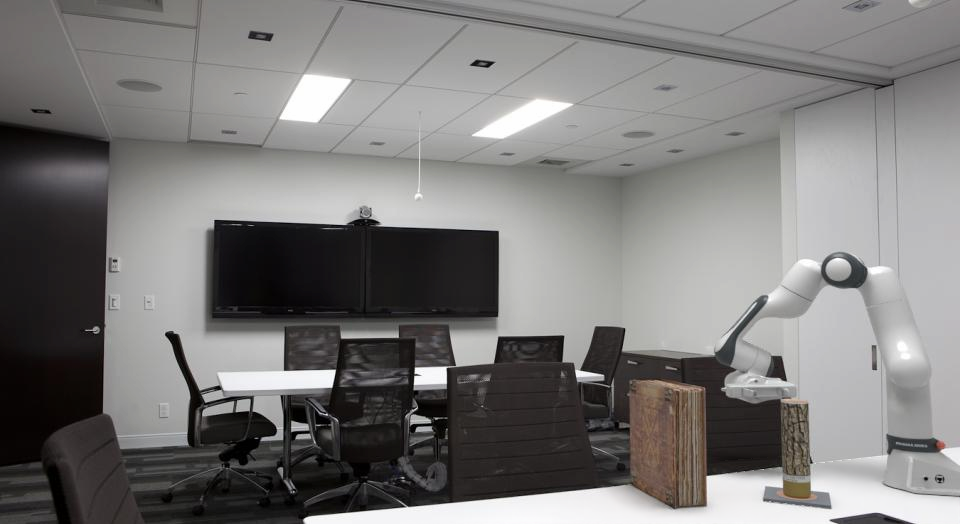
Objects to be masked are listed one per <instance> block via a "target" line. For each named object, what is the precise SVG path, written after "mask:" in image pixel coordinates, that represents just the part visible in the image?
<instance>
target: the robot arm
mask: <svg viewBox="0 0 960 524" xmlns="http://www.w3.org/2000/svg"><path fill="white" fill-rule="evenodd" d="M827 286H831V287H833V288H836V289H840V290H847V289H848V290H849V289H856V290H857V291H859V293H860V295H861V296H862V297H861V298H862V299H863V302H864V305H865V310H866V312H867V314H868V315H867V316H868V317H869V322H870V325H871V328H872V331H873V333H874V337H875V340H876V343H877V346H878V349H879V353H880V356H881V359H882V362H883V366H884V369H885V386H886V390H885V391H886V411H887V412H886V417H887V418H886V419H887V420H886V421H887V433H886V437H885V451H886V454H887V459H886V468H885V471H884V472H885V473H884V477H883V479H882V484H884V485H886V486H889V487H892V488H895V489H899V490H902V491H903V490H904V491H907V492H909V493H914V494H920V495H922V494H923V495H939V496H940V495H941V496H953V497H954V496H955V497H956V496H957V497H960V465H959V464H958V463H957V462H955V461H954V460H952V459H951V458H950V457H949V456H948V455H946V454H945V453H943V452H942V451H943V450H944V449H946V448H947V447H946V443H944V441H942V440H939V439H938V438H937V439H936V438H935V437H934V435H933V411H932V410H933V408H932V398H931V395H932V394H931V384H930V379H931V377H932V374H933V373H932V371H933V369H932V365H931V362H930V359H929V356H928V353H927V351H926V348H925V345H924V342H923V339H922V337H921V334H920V331H919V328H918V325H917V323H916V320H915V317H914V314H913V310H912V308H911V305H910V301H909V299H908V296H907V293H906V291H905V288H904V286H903V284H902V282H901V280H900V278H899V276H898V275H897V273H896V271H895V270H894V269H893V268H892V267H889V266H886V265H885V266H884V265H878V266H872V267H869V266H866V265H865V262H864V261H863V260H862V259H861V258H860V257H859V256H857V255H855V254H853V253H851V252H845V251H837V252H833V253H831V254H829V255H828V256H826V257H825V258H824V259H823V261H822V262H818V261H815V260H814V259H810V258H803V259H799V260H798V261H796V262H795V264H794V265H792V266H791V267H790V269H788V271H787V273H786V274H785V276H784V277H783V279H782V280H781V281H780V283H779V285H778V286H777V287H776V288H775V289H774V290H773V291H772V292H770V293H768V294H762V295H760V296H759V297H758V298H756V299H755V300H754V301H753V302H752V303H751V304H750V306H749V307H748V308H747V309H745V311H744V312H743V313H742V314H741V316H740V317H739V318H738V319H737V320H736V321H735V323H734V324H733V325H732V326H731V327H730V329H729V330H727V332H725V333H724V334H723V335H722V336H721V337H720V338H719V339H718V341H717V342H716V343H715V345H714V347H713V353H714V356H715V358H716V361H718V363H720V364H722V365H725V366H727V367H731V368H733V369H735V371H733V372H732V371H731V372H730V373H728V374H727V375H726V376H725V378H724V387H721V388H720V391H722V392H725V396H727V397H728V398H732V399H738V400H741V401H745V402H747V403H750V404H760V403H763V402H766V401H775V400H781V399H789V398H790V399H793V398H796V397H797V396H798V395H797V393H798V389H797V386H796V384H795V383H792V382H789V381H786V380H785V381H784V380H782V378H779V377H771V375H772V373H773V372H774V371H773V370H774V365H775V363H774V358H773V356H772V353H771V352H770V351H768V350H766V349H764V348H761V347H759V346H758V345H754V344H753V343H750V342H749V341H746V340H744V339H743V338H744V337H745V336H746V334H748V332H750V330H751V329H752V328H753V327H754V326H755V324H756V323H757V322H758V321H760V320H762V319H765V318H766V319H767V318H777V319H784V320H786V319H789V320H790V319H797V318H799V317H802V316H804V314H806V313H807V311H808V310H809V309H810V307H811V306H812V304H813V303H814V301H815V299H816V298H817V296H818V294H819V293H821V291H822V290H823V289H824V288H825V287H827Z"/></svg>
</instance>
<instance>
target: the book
mask: <svg viewBox="0 0 960 524" xmlns="http://www.w3.org/2000/svg"><path fill="white" fill-rule="evenodd" d="M628 382H629V383H628V384H629V386H628V390H629V393H628V394H629V396H628V397H629V402H628V403H629V466H630V467H629V468H630V469H629V470H630V471H629V473H630V475H629V477H630V485H631V486H633V487H635V488H636V489H638V490H640V491H641V492H643V493H645V494H647V495H648V496H649V497H652V498H654V499H656V500H658V501H659V502H661V503H662V504H664V505H666V506H667V507H670V508H671V509H672V510H676V509H677V507H687V506H702V505H703V506H702V507H704V506H705V507H704V508H706V507H707V506H708V500H707V499H708V496H707V495H708V494H707V493H708V489H707V486H708V484H707V482H708V480H707V428H706V427H707V422H706V421H707V420H706V418H707V417H706V414H707V413H706V411H707V410H706V404H707V403H706V388H705V387H703V386H698V385H693V384H688V383H682V382H678V381H673V380H667V379H663V378H659V377H657V378H630V379H629V380H628Z"/></svg>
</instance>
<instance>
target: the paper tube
mask: <svg viewBox="0 0 960 524" xmlns="http://www.w3.org/2000/svg"><path fill="white" fill-rule="evenodd" d="M809 405H810V404H809V401H808V400H807V399H800V398H799V399H798V398H782V399H780V421H781V422H780V425H781V426H780V430H781V431H780V433H781V434H780V435H781V461H782V462H781V464H782V465H781V466H782V488H783V493H784V494H785V495H787V496H789V497H794V498H808V497H810V495H811V491H812V489H811V488H812V484H811V480H812V478H811V477H812V476H811V448H810V447H811V445H810V443H811V441H810V413H809V412H810V411H809V410H810V408H809V407H810V406H809Z"/></svg>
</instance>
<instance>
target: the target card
mask: <svg viewBox="0 0 960 524" xmlns="http://www.w3.org/2000/svg"><path fill="white" fill-rule="evenodd" d="M762 500H763V502H765V501H771V502H770V503H774V502H780V503H779V504H783V503H787V504H786V505H792V504H795V506H801V505H804V506H803V507H810V506H812V507H811V508H818V507H820V509H827V510H828V509H830V510H832V501H831V496H830V492H828V491H827V492H826V491H818V490H817V491H816V490H811V495H810V497H808V498H794V497H789V496H787V495H785V494H784V493H783V487H778V486H777V487H776V486H768V485H765V486H764V491H763V497H762Z"/></svg>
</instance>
